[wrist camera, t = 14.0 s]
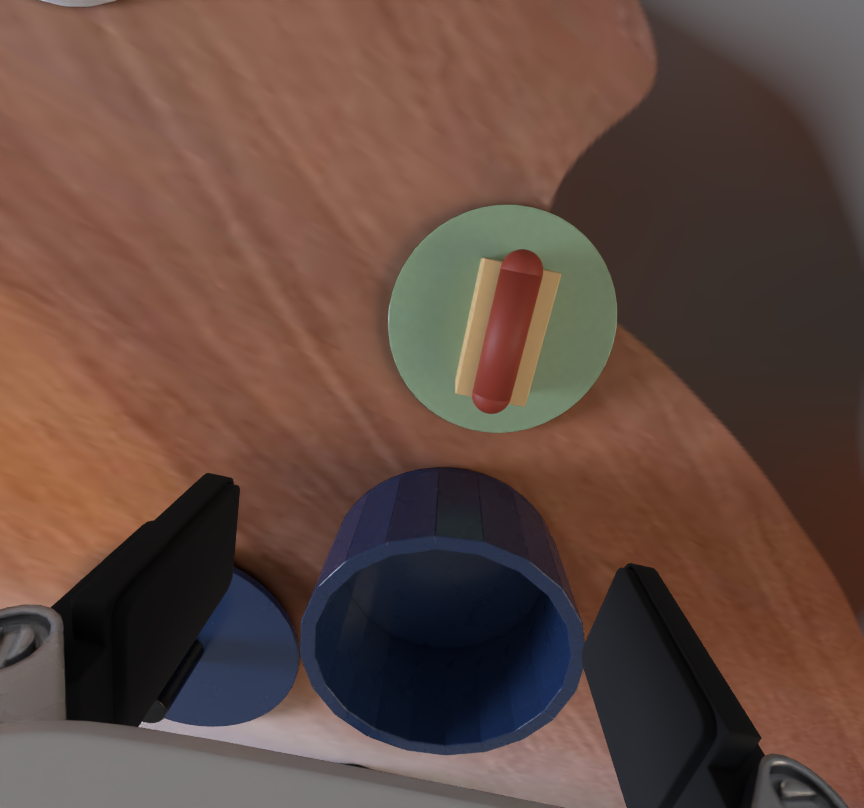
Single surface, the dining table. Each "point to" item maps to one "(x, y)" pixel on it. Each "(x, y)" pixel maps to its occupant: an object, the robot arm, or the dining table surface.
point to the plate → (451, 301)
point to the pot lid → (233, 662)
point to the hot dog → (505, 330)
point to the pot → (443, 616)
